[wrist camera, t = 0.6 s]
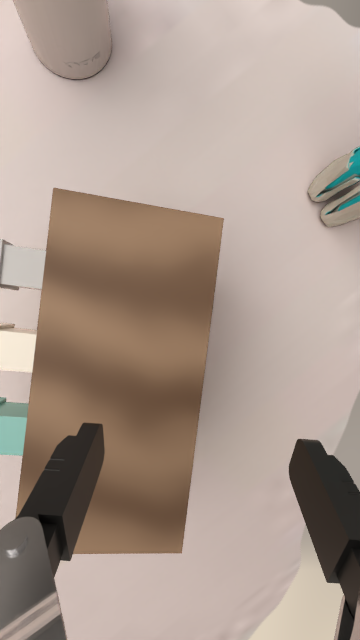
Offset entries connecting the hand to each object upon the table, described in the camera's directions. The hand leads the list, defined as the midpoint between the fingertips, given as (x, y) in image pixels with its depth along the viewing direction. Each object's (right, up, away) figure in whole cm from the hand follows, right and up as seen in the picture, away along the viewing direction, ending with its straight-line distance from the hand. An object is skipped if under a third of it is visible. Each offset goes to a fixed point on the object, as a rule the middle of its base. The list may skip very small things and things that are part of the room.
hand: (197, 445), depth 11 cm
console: (-7, +2, +23) cm, 24 cm away
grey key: (-12, +9, +14) cm, 21 cm away
